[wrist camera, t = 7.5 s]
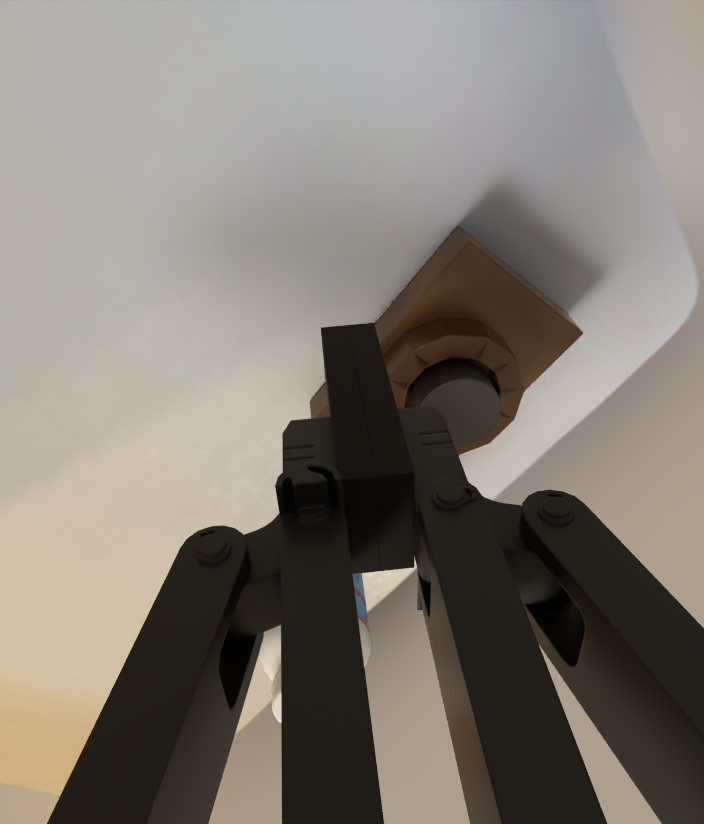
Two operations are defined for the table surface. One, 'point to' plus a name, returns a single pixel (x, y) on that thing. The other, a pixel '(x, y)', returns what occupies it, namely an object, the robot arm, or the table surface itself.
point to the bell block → (469, 327)
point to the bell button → (460, 399)
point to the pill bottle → (272, 646)
